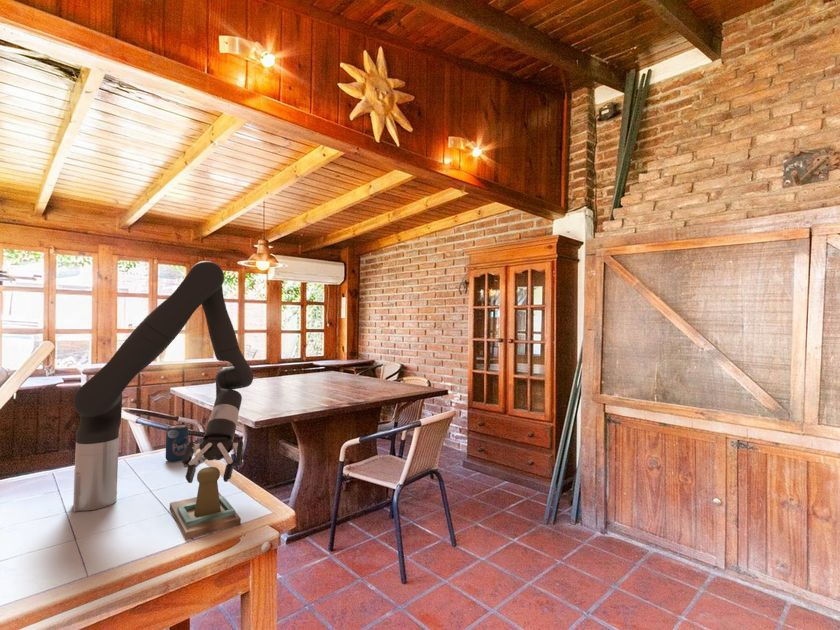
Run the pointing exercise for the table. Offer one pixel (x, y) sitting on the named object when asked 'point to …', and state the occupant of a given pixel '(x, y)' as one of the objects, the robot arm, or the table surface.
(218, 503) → the cork
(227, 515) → the holder plate
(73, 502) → the robot arm
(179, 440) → the soda can
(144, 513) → the table surface
